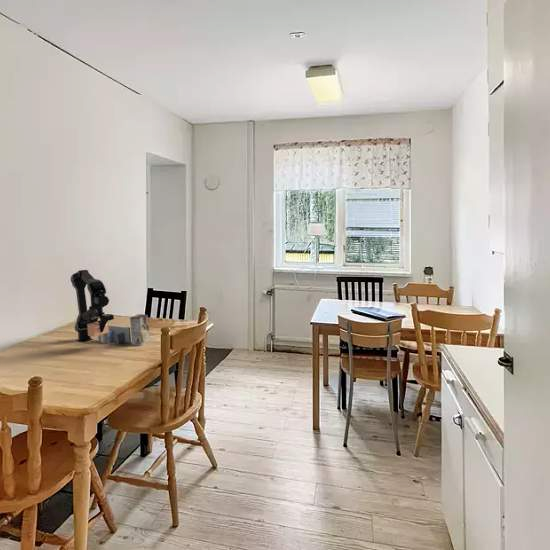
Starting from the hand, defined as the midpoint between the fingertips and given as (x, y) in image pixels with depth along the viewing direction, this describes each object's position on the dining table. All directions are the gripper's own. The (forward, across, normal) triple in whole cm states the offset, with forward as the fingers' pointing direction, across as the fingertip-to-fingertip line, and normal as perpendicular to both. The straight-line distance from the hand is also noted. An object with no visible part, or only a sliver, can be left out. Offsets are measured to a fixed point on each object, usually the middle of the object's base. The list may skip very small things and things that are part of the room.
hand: (98, 331), depth 228 cm
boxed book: (+1, 0, 0) cm, 1 cm away
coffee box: (+10, +15, +16) cm, 24 cm away
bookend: (+9, +6, +11) cm, 16 cm away
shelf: (+9, -1, +12) cm, 15 cm away
